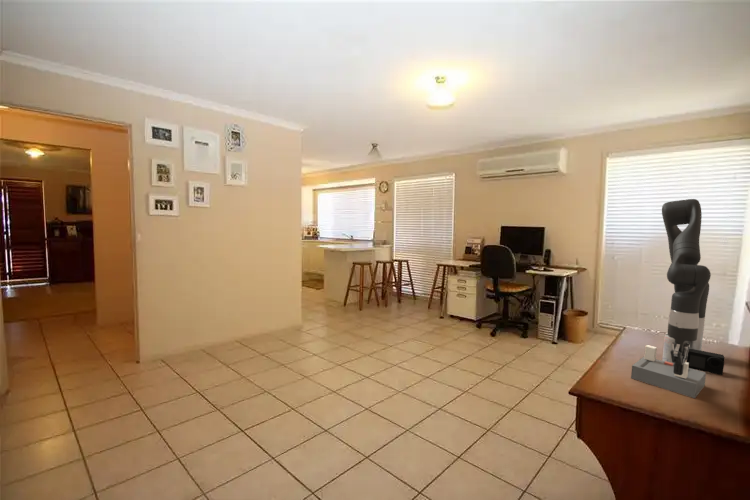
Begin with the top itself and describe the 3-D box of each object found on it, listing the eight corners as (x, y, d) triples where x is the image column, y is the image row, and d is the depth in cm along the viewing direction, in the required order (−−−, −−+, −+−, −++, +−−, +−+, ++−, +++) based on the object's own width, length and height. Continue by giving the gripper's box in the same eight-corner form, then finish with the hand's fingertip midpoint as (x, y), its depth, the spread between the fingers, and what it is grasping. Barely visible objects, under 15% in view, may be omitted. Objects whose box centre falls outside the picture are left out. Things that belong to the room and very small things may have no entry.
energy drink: (682, 367, 141) (685, 338, 139) (666, 366, 142) (669, 337, 140) (673, 362, 146) (676, 334, 145) (659, 361, 147) (661, 333, 146)
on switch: (646, 357, 138) (647, 344, 137) (655, 359, 136) (656, 347, 135) (644, 358, 136) (645, 346, 136) (653, 361, 134) (654, 348, 134)
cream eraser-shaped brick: (676, 373, 124) (677, 359, 124) (687, 376, 122) (688, 362, 121) (674, 375, 123) (675, 361, 122) (685, 378, 120) (687, 364, 120)
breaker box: (643, 368, 140) (644, 354, 140) (704, 386, 126) (706, 371, 126) (630, 378, 132) (632, 363, 131) (694, 398, 118) (696, 382, 117)
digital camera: (686, 368, 140) (688, 351, 139) (685, 364, 144) (687, 347, 143) (723, 376, 134) (725, 358, 133) (721, 371, 138) (723, 354, 137)
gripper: (674, 317, 124) (669, 364, 126) (662, 325, 116) (658, 375, 118) (702, 323, 118) (697, 372, 120) (693, 331, 110) (687, 384, 112)
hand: (678, 373), depth 119 cm, fingers closed
